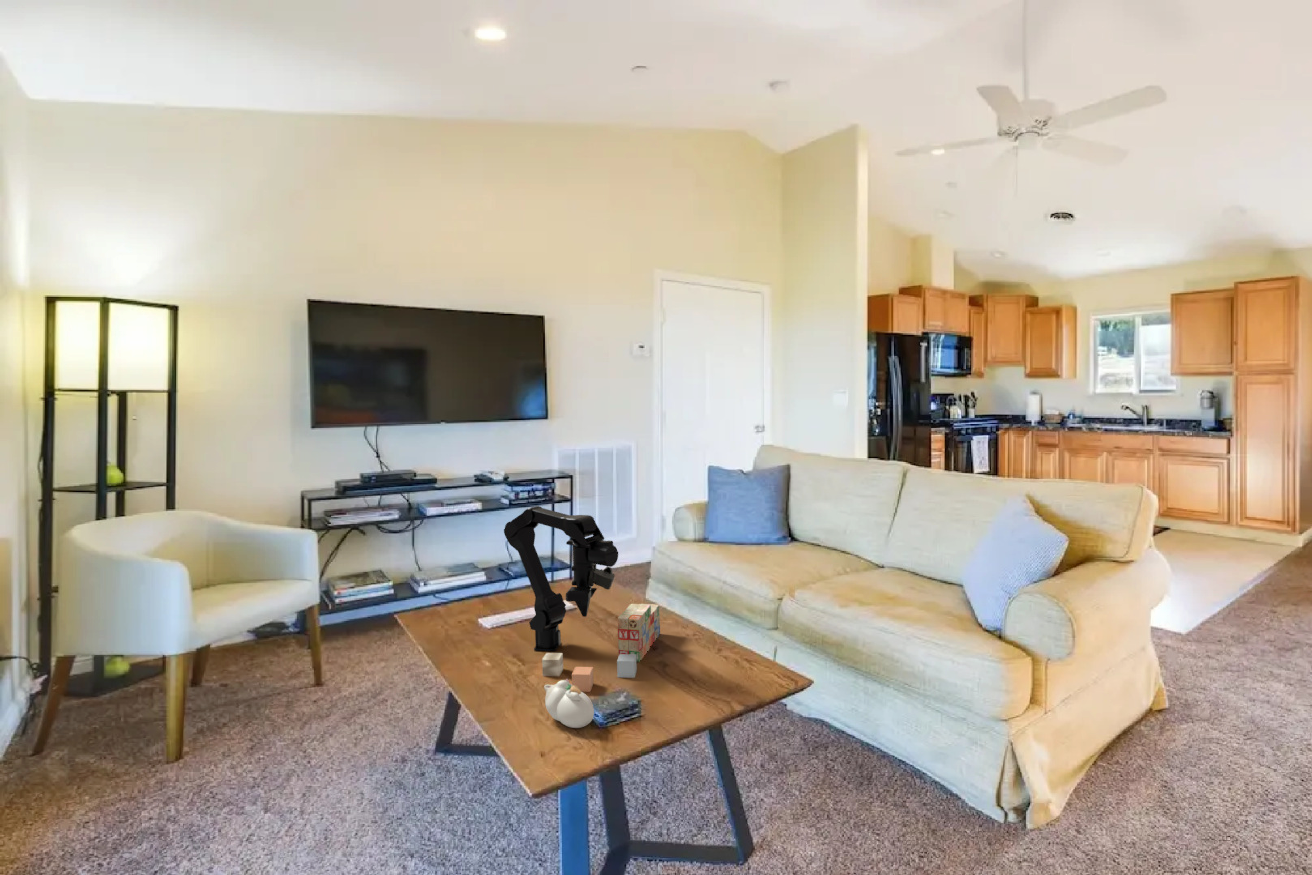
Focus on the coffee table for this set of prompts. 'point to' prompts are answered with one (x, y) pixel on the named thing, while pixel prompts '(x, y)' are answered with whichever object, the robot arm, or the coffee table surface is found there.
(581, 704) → the cat figurine
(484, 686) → the coffee table surface
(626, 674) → the blue grey block
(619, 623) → the stack of blocks
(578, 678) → the terracotta block
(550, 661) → the cream block
